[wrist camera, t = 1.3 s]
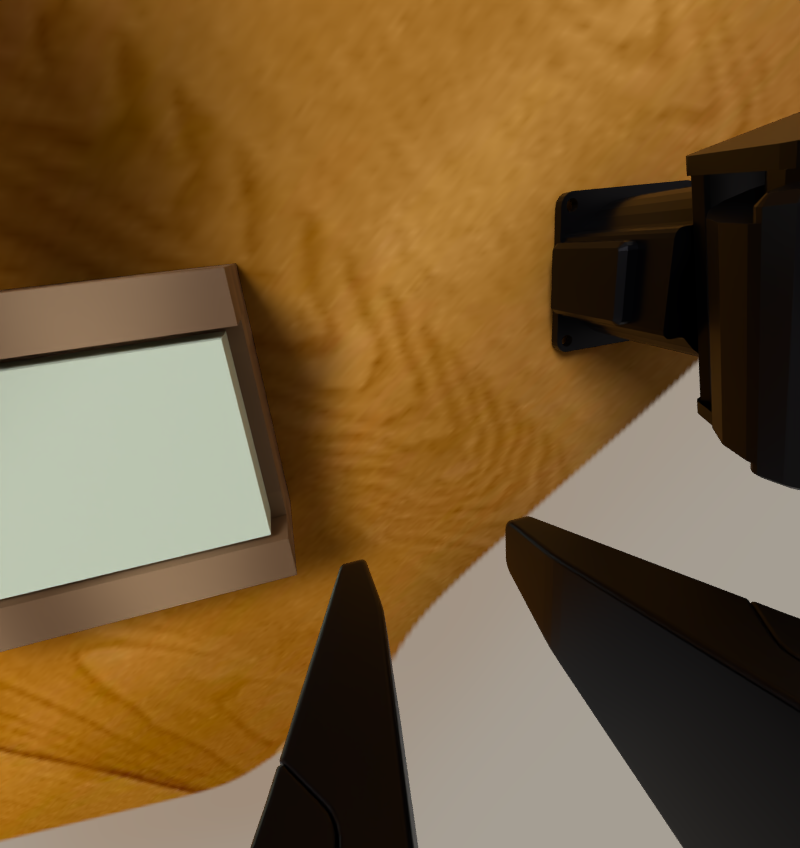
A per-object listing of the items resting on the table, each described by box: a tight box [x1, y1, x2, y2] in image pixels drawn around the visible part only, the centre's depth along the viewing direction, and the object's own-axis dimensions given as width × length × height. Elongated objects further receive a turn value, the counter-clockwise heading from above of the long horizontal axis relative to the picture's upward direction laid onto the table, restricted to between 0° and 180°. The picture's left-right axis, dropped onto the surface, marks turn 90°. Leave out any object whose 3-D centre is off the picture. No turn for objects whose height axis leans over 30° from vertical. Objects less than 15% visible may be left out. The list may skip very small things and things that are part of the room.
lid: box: [0, 331, 271, 599], centre depth 13 cm, size 13×6×2 cm, turn 96°
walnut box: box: [0, 263, 297, 652], centre depth 14 cm, size 14×10×5 cm
